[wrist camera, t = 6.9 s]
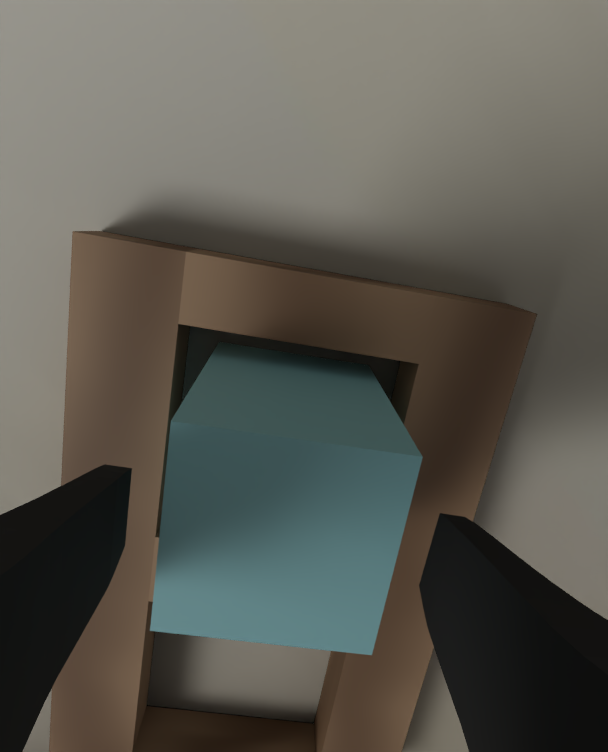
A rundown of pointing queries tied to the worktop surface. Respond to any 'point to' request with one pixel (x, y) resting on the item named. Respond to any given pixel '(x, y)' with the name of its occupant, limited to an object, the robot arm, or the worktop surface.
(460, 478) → the walnut frame
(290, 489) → the teal block
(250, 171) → the worktop surface
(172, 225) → the worktop surface
